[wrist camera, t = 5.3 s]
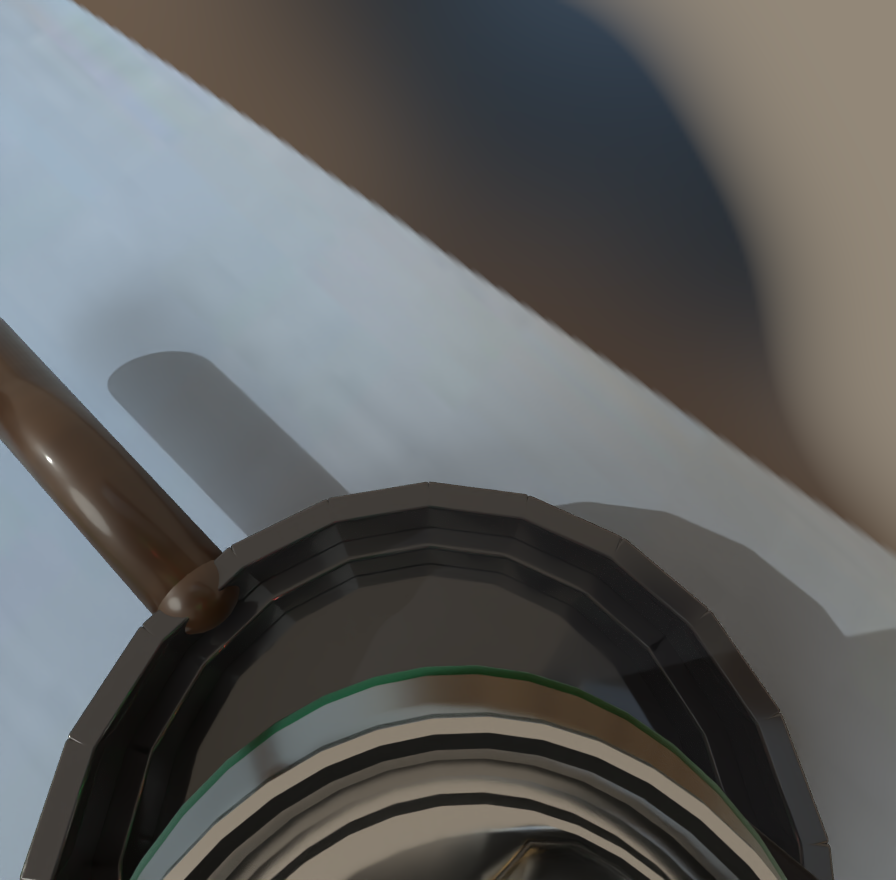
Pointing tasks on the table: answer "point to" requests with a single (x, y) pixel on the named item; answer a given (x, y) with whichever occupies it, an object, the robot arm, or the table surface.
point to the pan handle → (108, 493)
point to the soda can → (459, 792)
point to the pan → (413, 660)
